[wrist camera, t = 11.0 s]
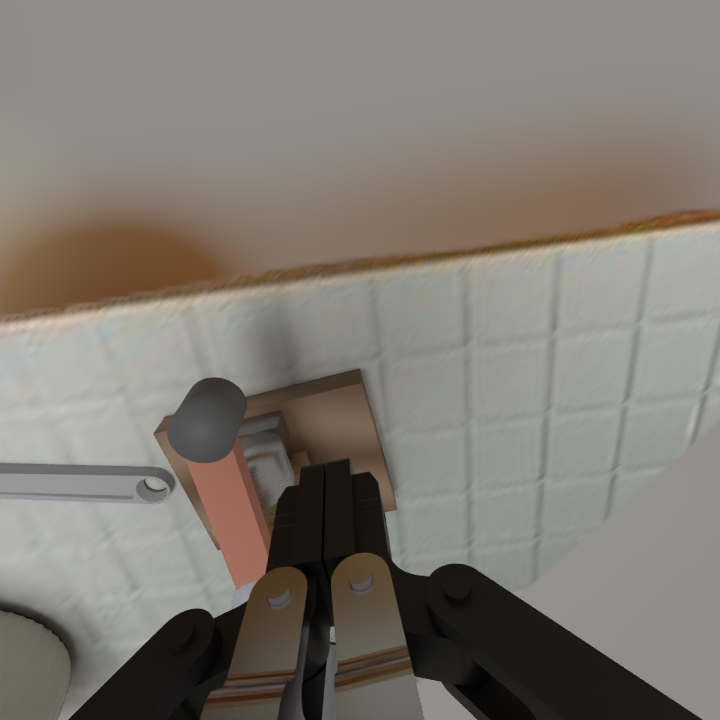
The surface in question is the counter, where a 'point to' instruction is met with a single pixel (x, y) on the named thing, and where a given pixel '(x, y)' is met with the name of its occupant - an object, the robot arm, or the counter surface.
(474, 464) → the counter surface
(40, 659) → the canister
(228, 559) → the valve lever
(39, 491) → the adjustable wrench
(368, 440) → the mounting board
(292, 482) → the pipe valve
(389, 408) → the counter surface
